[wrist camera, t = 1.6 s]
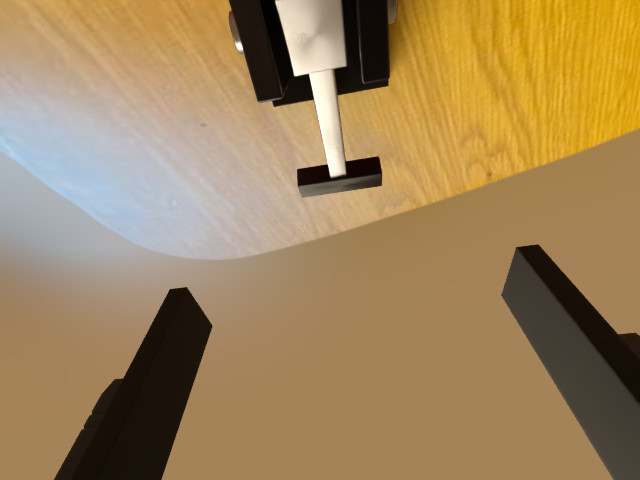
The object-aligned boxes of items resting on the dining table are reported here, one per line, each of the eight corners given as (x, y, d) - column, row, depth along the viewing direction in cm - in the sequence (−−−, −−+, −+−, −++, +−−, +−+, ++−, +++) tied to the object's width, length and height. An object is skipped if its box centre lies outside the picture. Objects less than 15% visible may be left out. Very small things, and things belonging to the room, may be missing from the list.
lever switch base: (385, 81, 24) (440, 155, 13) (276, 102, 25) (237, 187, 14) (378, -131, 17) (483, -374, 6) (228, -90, 18) (73, -232, 7)
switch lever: (377, 163, 21) (383, 192, 20) (301, 175, 22) (302, 203, 21) (383, -67, 10) (395, -30, 9) (228, -29, 11) (223, 9, 10)
